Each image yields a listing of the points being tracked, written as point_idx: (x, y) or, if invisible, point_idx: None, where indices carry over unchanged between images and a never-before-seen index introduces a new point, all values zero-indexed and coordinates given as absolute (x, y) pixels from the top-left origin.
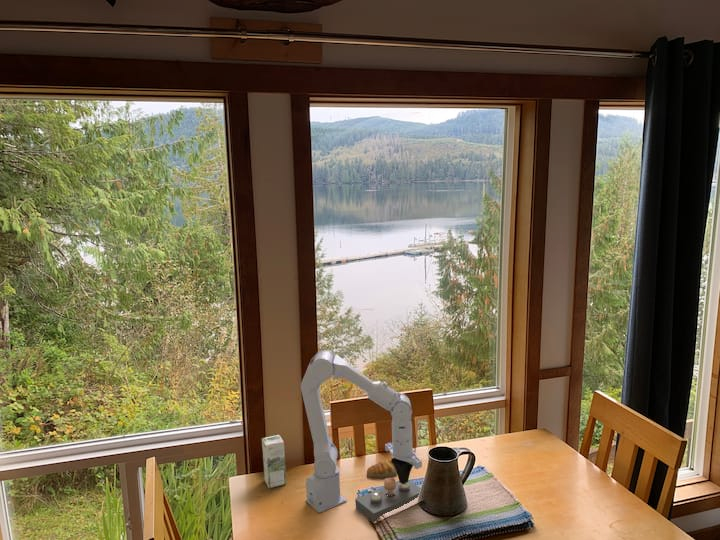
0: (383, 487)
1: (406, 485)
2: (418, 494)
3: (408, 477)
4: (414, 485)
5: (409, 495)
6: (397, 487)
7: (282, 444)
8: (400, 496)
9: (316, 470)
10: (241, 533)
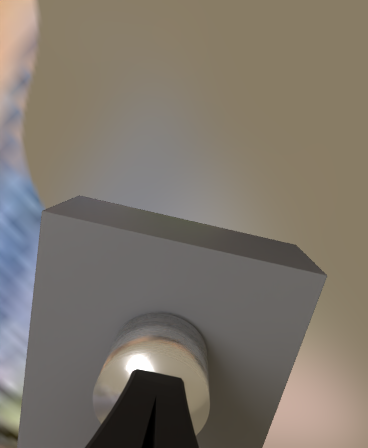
0: (23, 420)
1: (205, 416)
2: (301, 336)
3: (189, 423)
4: (197, 260)
5: (255, 396)
6: (103, 363)
7: None
8: (207, 439)
9: None
10: None
